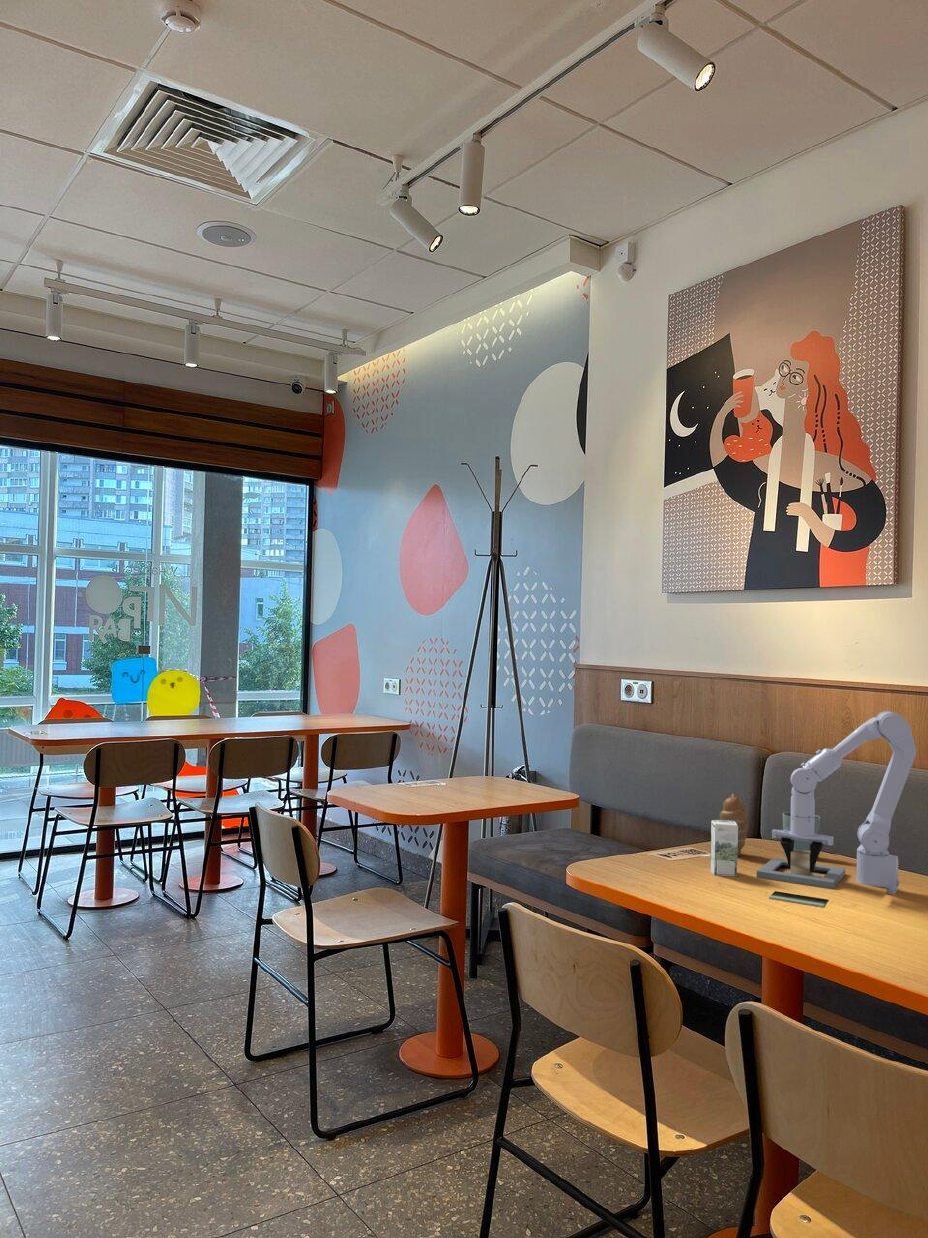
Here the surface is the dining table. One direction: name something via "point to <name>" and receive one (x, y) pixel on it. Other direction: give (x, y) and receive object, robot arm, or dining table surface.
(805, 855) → the maple block
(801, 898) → the zone pad
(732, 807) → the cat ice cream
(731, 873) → the syrup box
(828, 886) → the box
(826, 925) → the dining table surface
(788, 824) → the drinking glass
